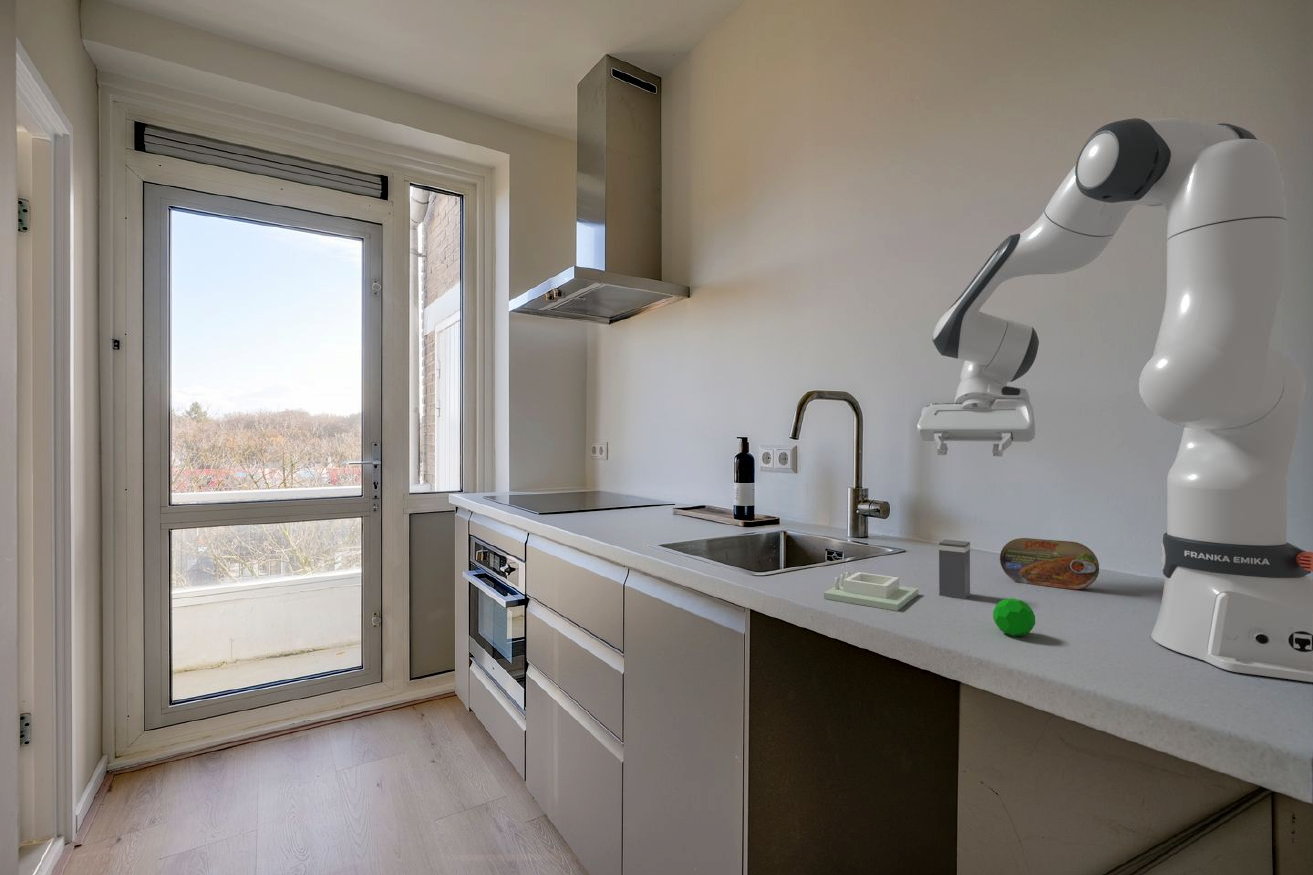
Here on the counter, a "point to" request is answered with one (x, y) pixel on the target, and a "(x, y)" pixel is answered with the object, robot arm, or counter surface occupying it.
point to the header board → (871, 591)
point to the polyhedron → (1014, 617)
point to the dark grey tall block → (954, 569)
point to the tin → (1049, 563)
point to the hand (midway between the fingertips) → (968, 453)
